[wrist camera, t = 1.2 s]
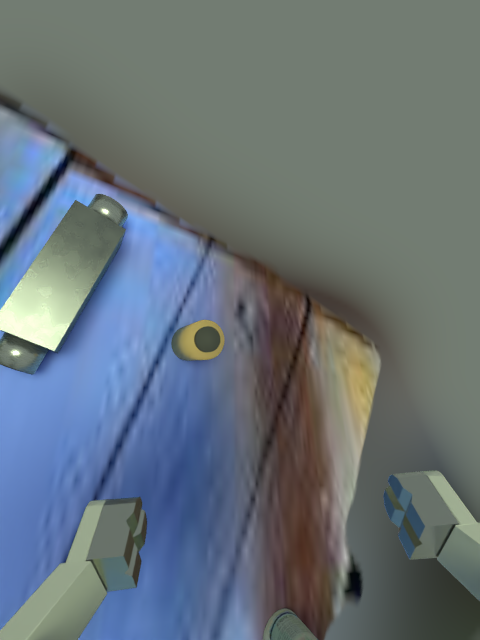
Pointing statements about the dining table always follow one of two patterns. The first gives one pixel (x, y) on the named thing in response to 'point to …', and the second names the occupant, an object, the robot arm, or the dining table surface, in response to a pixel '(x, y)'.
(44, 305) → the motor housing
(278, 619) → the spray can
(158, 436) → the dining table surface
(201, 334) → the yellow cylinder
